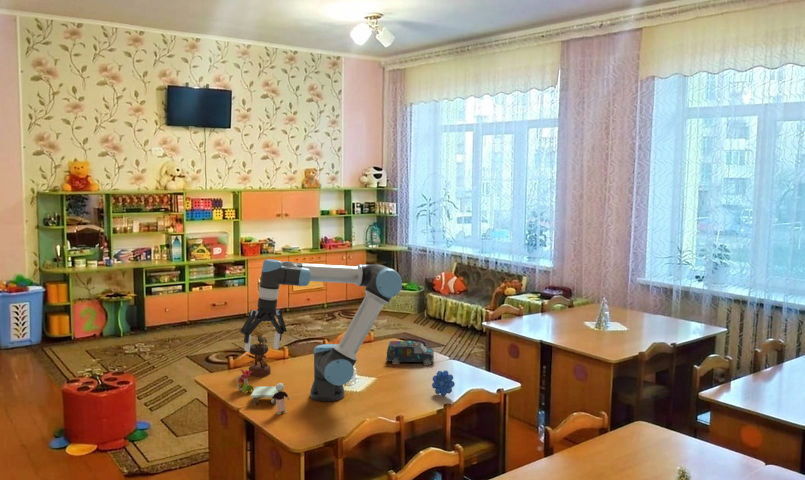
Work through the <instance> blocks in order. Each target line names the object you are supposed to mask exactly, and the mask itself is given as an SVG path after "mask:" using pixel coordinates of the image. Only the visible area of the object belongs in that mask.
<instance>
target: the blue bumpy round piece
mask: <svg viewBox="0 0 805 480" xmlns="http://www.w3.org/2000/svg"><path fill="white" fill-rule="evenodd" d="M453 379H454V375H453V374H449V371H448V370H443V371H442V370H438V371H437V372H436V374H435V375H433V377H432V384H431V388H433V390H434V389H435V390H434V393H435V394H437V395H440V396H441V397H445V396H446V395H447V394H451V393H452V392H453V388H454V387H455V384H456V383H455V382H454V380H453Z"/></svg>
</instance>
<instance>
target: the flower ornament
mask: <svg viewBox="0 0 805 480" xmlns="http://www.w3.org/2000/svg"><path fill="white" fill-rule="evenodd" d="M241 372H242V374H240V375H239V376H237V379H236V386H237V389H238V392H242V393H243V394H244V395H246V393H247V392H251V391H252V392H253V391H254V389H255V388H254V386H253V385H252V384H249V381H248V378H250V377H251V376H249V374H250V373H251V372H252V371H249V369H247V370H245V369H243V368H241Z"/></svg>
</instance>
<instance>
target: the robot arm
mask: <svg viewBox="0 0 805 480" xmlns="http://www.w3.org/2000/svg"><path fill="white" fill-rule="evenodd" d="M260 275H261V277H260V284H259V292H258V298H257V299H258V300H257V310H254V309H250V310H249V315H248V317H247V318H246V319H245V321H244V324H243V325H242V327H241V329H240V331H239V332H240V333H241V334H243V336H244V337H243V342H244V351H245V352H247V353H250V346H251V345H252V343H251V342H252V335H251V334H252V333H253V332H254V330H256V328H257V327H259V324H260V323H261V324H262V322H264V323H265V322H271V324H272V326H273V328H274V329H275V331H276V332H274V338H273V339H274V340H273V347H272V348H273V349H275V350H279V349H280V348H279V347H280V342H281V341H282V335H284V333H286V332H287V331H288V330H287V327H286V323H285V319H284V318H283V317H284V316H283V310H282V309H279V308H277V305H278V300H277V299H278V297H279V290H280V285H282V286H283V285H285V286H295V287H307V286H309V284H310V283H311V282H319V283H321V282H322V283H323V282H324V283H335V284H336V283H339V284H355V286H357V287H363V288H365V290H364V291H365V296H364V298H363V300H362V301H361V304H360V305H359V307H358V309H357V310H356V311H355V314H354V316H353V318H352V320H351V321H350V323H349V325H348V327H347V329H346V331H345V332H344V334H343V336H342V338H341V339H340V341H339V343H338V344H336V343H323V344H317V345H316V346H315V347H314V349H313V365H314V366H313V376H314V377H313V382H312V385H311V389H310V392H309V393H310V394H309V395H310V396H309V397H310V398H311V399H312V400H315V401H318V402H334V401H339V400H341V399H343V398H344V397H345V391H346V390H345V387H344V385H346V384H348V383H349V382H350V381H351V380H352V378H353V376H354V371H355V369H354V366H355V365H356V363H357V360H358V359H357V354H358V352H359V350H360V347H361V346H362V344H363V343H364V341H365V339H366V338H367V336H368V333H369V331H370V330H371V328H372V326H373V324H374V322H375V321H376V319H377V318H378V316H379V314H380V312H381V310H382V308H383V307H384V306H385V305H387V304H389V303H390V302H391V300H392V298H393V297H396V296H398V294H399V293H400V292H401V290H402V287H403V280H402V276H401V275H400V274H399V273H398V272H397V271H396V270H395V269H393V268H391V267H388V266H385V265H383V264H379V263H378V264H373V263H372V264H357V265H355V266H353V265H352V266H351V265H337V264H333V265H332V264H323V263H322V264H321V263H307V262H306V263H304V262H301V263H300V262H292V261H287V260H285V261H281V260H277V259H268V258H267V259H265V260H264V261H263V263H262V268H261V274H260ZM275 315H276V318H275Z"/></svg>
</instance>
